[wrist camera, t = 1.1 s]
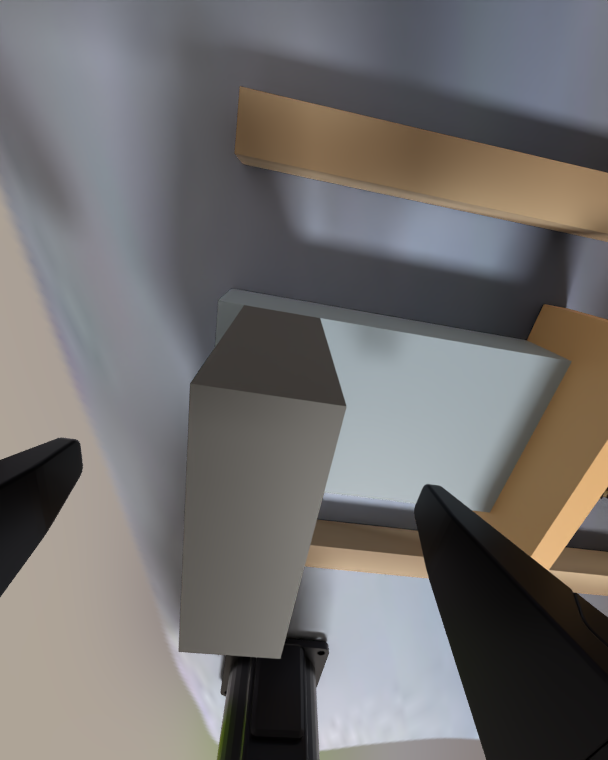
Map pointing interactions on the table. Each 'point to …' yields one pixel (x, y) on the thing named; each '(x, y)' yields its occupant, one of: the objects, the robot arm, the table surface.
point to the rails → (433, 186)
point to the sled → (374, 443)
